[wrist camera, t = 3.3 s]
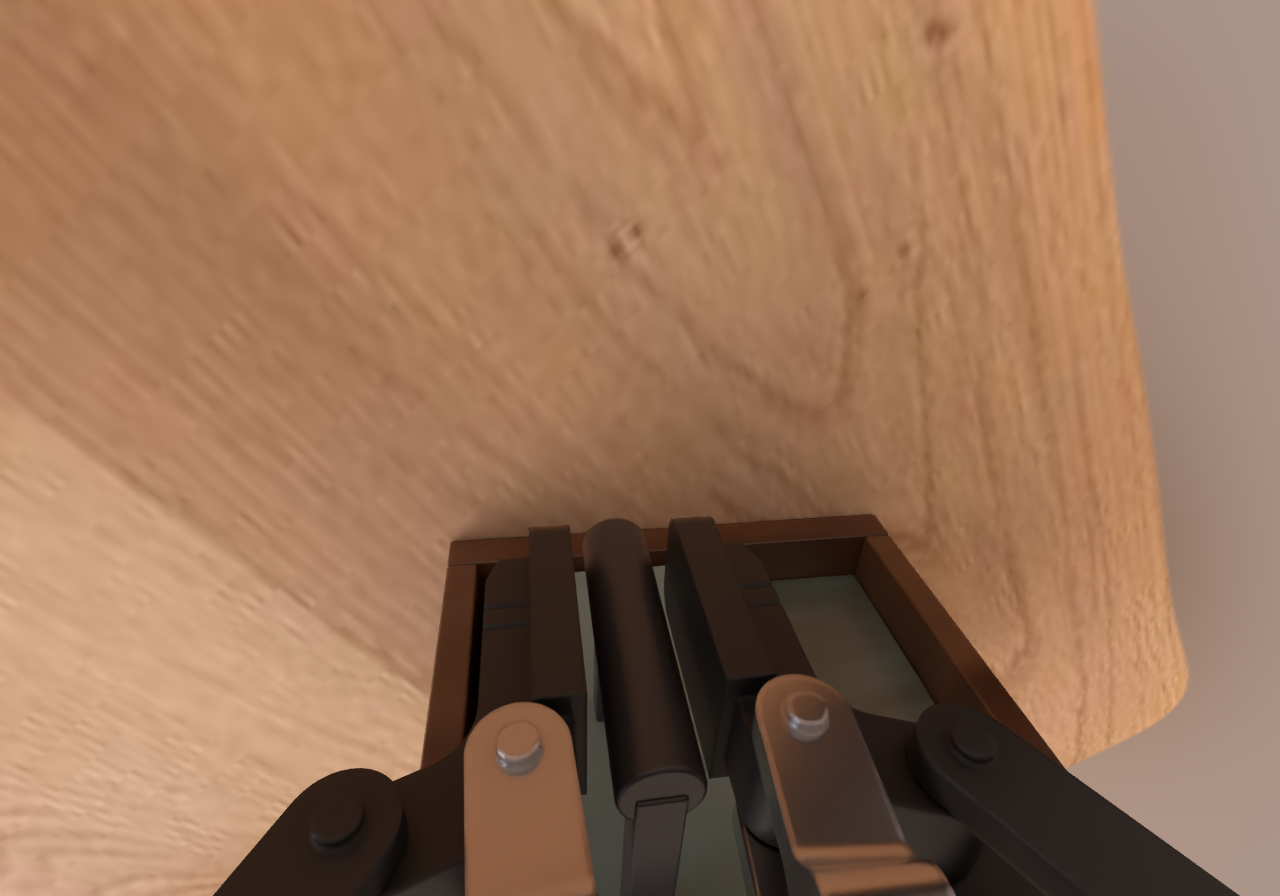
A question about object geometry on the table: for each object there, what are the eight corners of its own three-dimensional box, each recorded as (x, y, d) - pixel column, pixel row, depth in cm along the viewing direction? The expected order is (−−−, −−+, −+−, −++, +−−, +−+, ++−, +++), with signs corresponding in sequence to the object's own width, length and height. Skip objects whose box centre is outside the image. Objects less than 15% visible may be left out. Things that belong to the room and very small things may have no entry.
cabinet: (450, 541, 18) (369, 1133, 8) (874, 513, 21) (1215, 965, 10) (477, 737, 23) (445, 1267, 13) (820, 698, 25) (1020, 1132, 15)
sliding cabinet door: (472, 413, 15) (421, 818, 7) (710, 404, 16) (896, 756, 8) (490, 595, 18) (469, 1020, 10) (690, 579, 19) (812, 959, 11)
